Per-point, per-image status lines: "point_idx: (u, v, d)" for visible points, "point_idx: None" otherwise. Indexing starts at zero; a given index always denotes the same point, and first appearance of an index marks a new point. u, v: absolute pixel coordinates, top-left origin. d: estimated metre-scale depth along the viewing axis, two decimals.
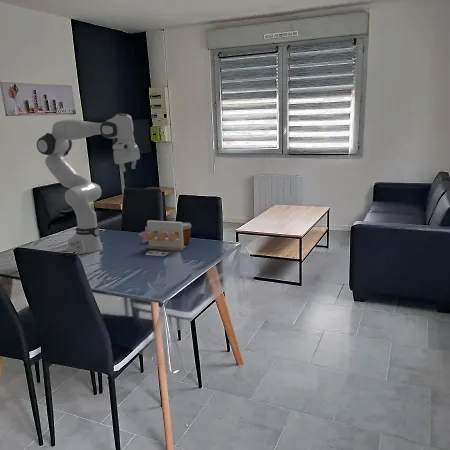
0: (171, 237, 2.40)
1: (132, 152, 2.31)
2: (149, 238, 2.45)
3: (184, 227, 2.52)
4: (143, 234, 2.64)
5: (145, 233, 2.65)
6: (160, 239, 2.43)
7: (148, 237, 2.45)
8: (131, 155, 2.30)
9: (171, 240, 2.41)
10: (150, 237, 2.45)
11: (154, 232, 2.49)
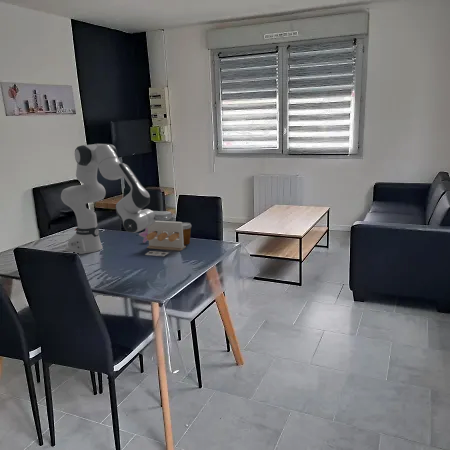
0: (171, 237, 2.40)
1: None
2: (149, 238, 2.45)
3: (184, 227, 2.52)
4: (143, 234, 2.64)
5: (146, 233, 2.65)
6: (160, 239, 2.43)
7: (148, 237, 2.45)
8: None
9: (171, 240, 2.41)
10: (150, 237, 2.45)
11: (154, 232, 2.49)
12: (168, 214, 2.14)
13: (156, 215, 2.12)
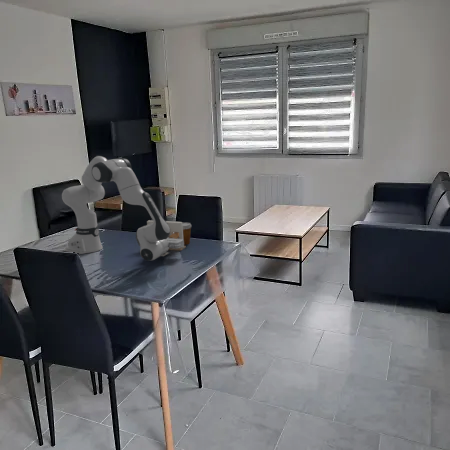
0: None
1: None
2: None
3: (184, 227, 2.52)
4: None
5: None
6: None
7: None
8: None
9: None
10: None
11: None
12: (181, 242, 2.31)
13: (170, 243, 2.29)
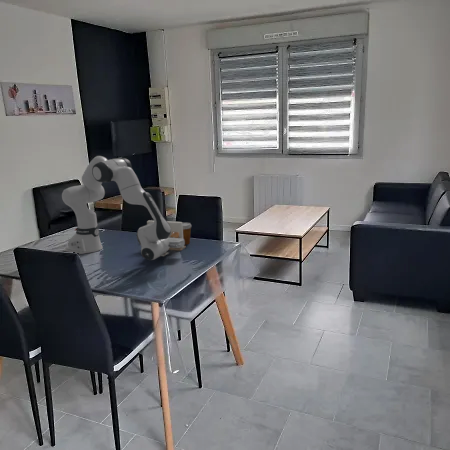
0: (173, 236, 2.43)
1: None
2: None
3: (184, 227, 2.52)
4: None
5: None
6: None
7: None
8: None
9: None
10: None
11: None
12: (181, 241, 2.31)
13: (170, 242, 2.29)
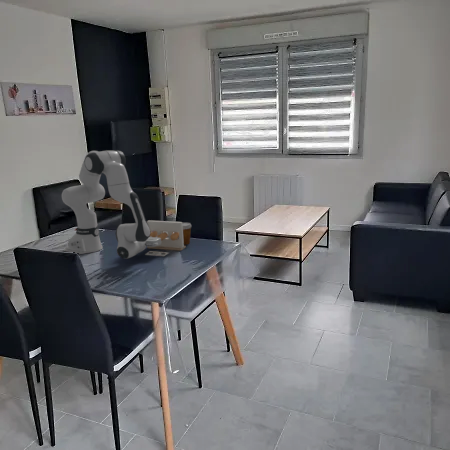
0: (173, 236, 2.43)
1: None
2: None
3: (184, 227, 2.52)
4: None
5: None
6: None
7: None
8: None
9: (173, 239, 2.43)
10: None
11: (155, 232, 2.50)
12: (158, 240, 2.35)
13: (147, 241, 2.33)
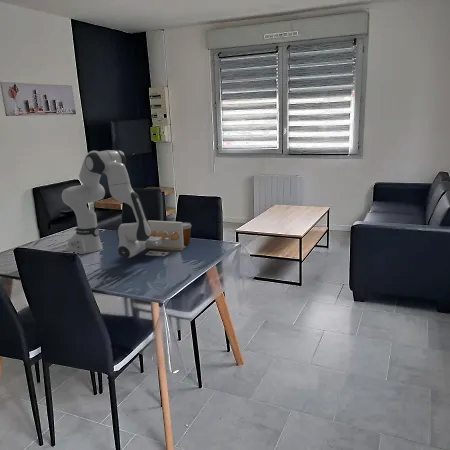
0: (173, 236, 2.43)
1: None
2: None
3: (184, 227, 2.52)
4: None
5: None
6: None
7: None
8: None
9: (173, 239, 2.43)
10: None
11: (156, 231, 2.52)
12: (158, 240, 2.36)
13: (147, 241, 2.34)
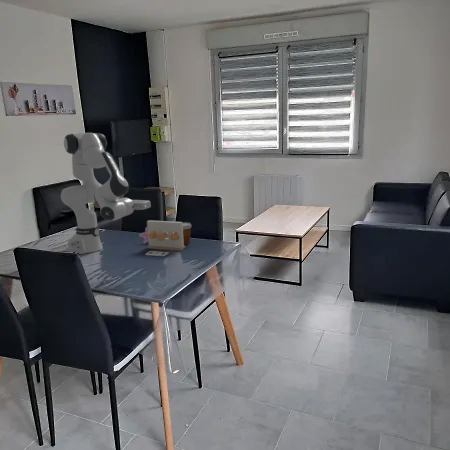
0: (173, 236, 2.43)
1: None
2: (151, 237, 2.48)
3: (184, 227, 2.52)
4: (144, 234, 2.63)
5: (146, 233, 2.63)
6: (160, 239, 2.43)
7: (150, 236, 2.48)
8: None
9: (173, 239, 2.43)
10: (152, 236, 2.47)
11: (156, 231, 2.52)
12: (147, 203, 2.15)
13: (135, 204, 2.13)
